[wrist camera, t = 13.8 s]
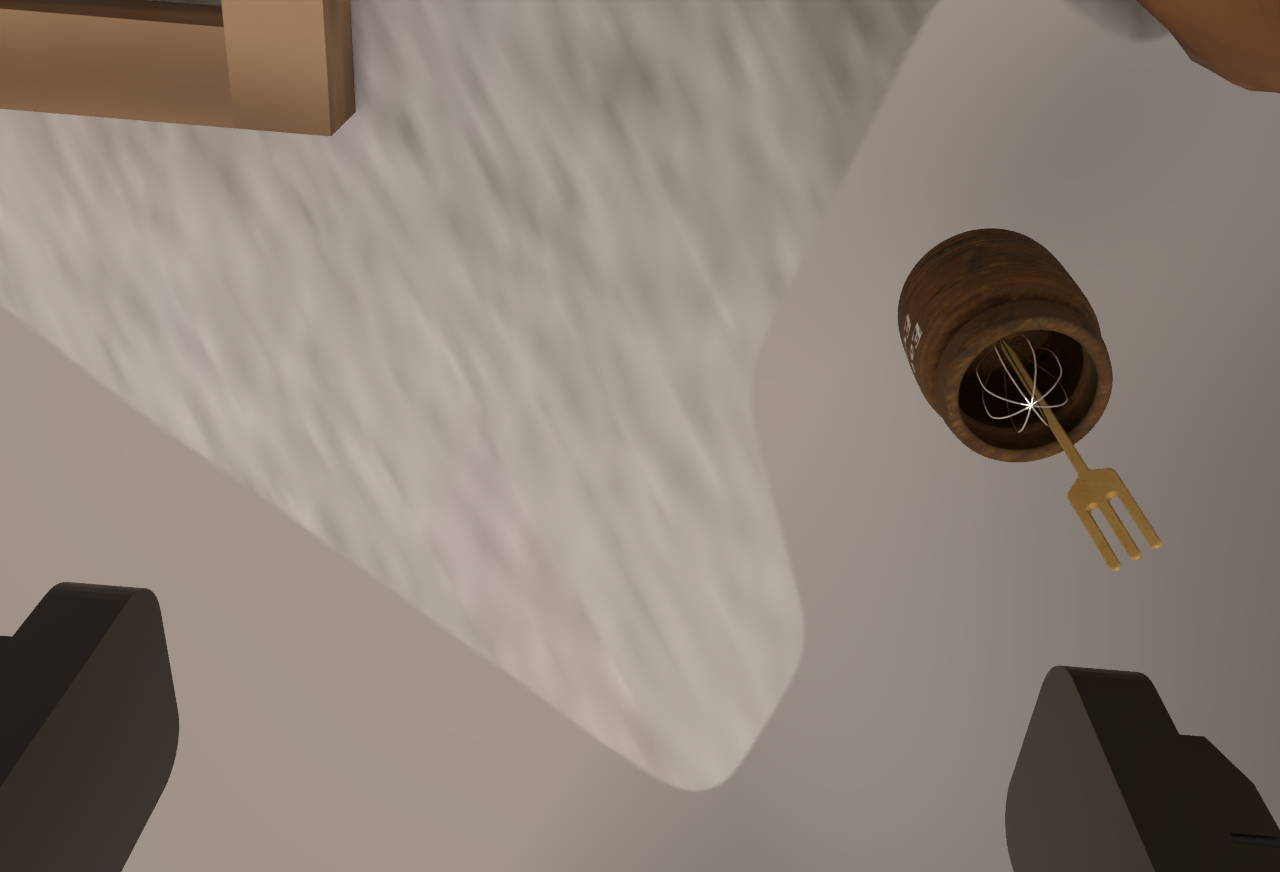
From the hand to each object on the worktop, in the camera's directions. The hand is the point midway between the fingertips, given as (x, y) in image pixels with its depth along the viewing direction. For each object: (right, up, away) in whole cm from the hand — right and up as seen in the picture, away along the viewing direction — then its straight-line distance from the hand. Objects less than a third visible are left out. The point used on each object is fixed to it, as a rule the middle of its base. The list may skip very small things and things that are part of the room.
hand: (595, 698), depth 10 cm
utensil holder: (+13, +7, +30) cm, 34 cm away
